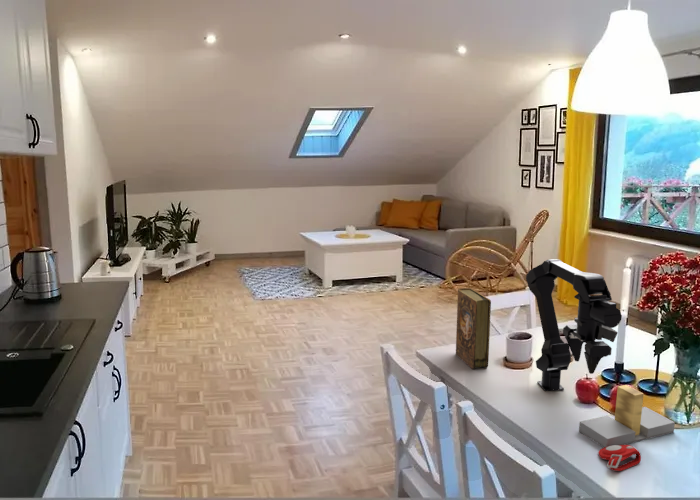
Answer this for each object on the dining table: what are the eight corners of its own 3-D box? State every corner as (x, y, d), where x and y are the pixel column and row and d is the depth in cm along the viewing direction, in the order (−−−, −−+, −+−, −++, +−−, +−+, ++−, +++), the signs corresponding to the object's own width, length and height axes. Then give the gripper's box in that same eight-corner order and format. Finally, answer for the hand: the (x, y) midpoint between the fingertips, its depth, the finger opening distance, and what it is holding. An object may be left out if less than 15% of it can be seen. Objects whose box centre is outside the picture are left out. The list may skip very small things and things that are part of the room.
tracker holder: (591, 445, 155) (629, 437, 154) (595, 462, 155) (633, 454, 154) (607, 460, 143) (649, 452, 142) (612, 478, 143) (653, 470, 142)
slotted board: (579, 431, 164) (579, 421, 163) (644, 416, 172) (645, 406, 172) (606, 449, 155) (607, 438, 154) (673, 432, 163) (674, 422, 162)
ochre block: (613, 426, 165) (617, 386, 163) (622, 424, 166) (626, 384, 164) (630, 436, 160) (635, 395, 158) (639, 434, 161) (643, 393, 159)
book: (454, 353, 221) (456, 288, 215) (467, 352, 222) (470, 287, 217) (473, 370, 205) (476, 301, 200) (488, 368, 206) (491, 300, 201)
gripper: (632, 326, 163) (626, 379, 166) (599, 306, 181) (595, 354, 185) (593, 327, 162) (588, 380, 166) (563, 307, 181) (560, 355, 184)
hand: (583, 367), depth 175 cm, fingers open, 9 cm apart
